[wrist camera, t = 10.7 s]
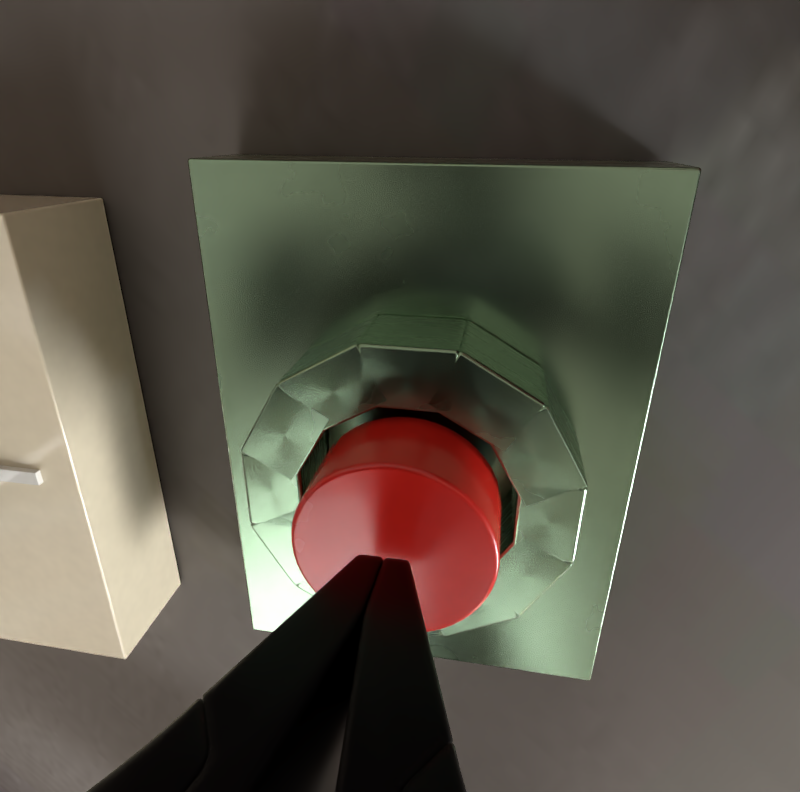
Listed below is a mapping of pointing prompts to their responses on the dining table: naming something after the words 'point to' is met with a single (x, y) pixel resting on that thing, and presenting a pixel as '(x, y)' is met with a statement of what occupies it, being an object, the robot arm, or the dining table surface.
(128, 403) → the cream dial base plate
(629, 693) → the dining table surface
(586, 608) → the green button base
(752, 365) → the dining table surface
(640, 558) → the dining table surface
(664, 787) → the dining table surface
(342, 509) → the button
